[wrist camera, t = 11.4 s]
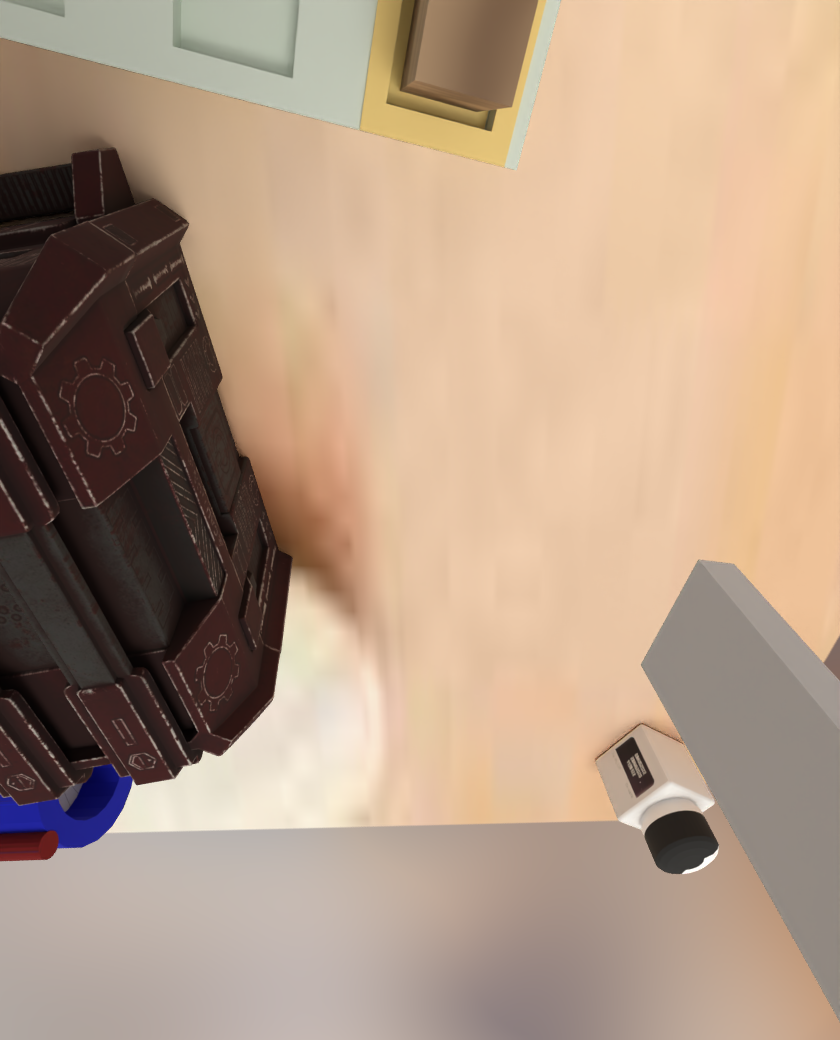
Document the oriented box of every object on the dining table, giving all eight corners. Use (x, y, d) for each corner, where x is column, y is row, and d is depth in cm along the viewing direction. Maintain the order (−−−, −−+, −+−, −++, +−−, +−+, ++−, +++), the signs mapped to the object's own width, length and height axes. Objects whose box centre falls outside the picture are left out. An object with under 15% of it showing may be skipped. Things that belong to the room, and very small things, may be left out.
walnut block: (399, 91, 34) (414, 80, 27) (416, -12, 32) (438, -56, 24) (476, 112, 35) (512, 106, 28) (498, 13, 33) (543, -22, 25)
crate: (-159, 191, 35) (-654, 251, 18) (164, 140, 36) (-12, 149, 18) (96, 631, 54) (-23, 869, 37) (304, 596, 55) (285, 815, 37)
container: (593, 760, 72) (637, 872, 61) (640, 721, 69) (696, 832, 58) (636, 779, 75) (686, 889, 64) (684, 743, 72) (744, 852, 61)
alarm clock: (156, 737, 62) (108, 890, 50) (40, 762, 63) (-36, 921, 50) (98, 654, 56) (27, 807, 43) (-31, 683, 56) (-139, 843, 43)
